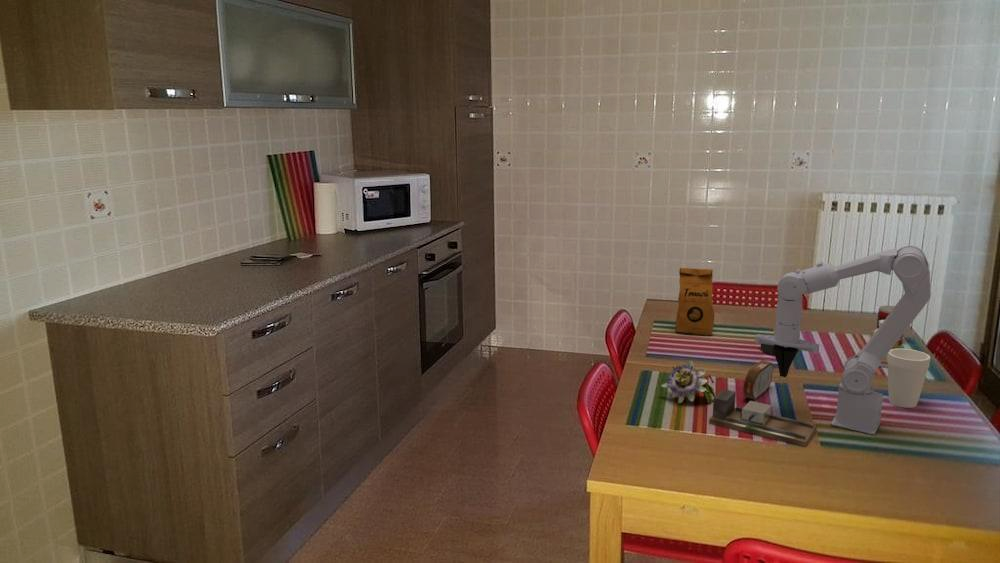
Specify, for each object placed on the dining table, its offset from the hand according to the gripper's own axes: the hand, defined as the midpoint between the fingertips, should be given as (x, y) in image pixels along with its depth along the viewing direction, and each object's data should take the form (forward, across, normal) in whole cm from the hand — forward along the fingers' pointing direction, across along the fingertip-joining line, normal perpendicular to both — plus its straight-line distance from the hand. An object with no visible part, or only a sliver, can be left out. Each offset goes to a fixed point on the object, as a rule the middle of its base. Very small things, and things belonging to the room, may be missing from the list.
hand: (783, 375), depth 181 cm
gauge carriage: (+8, +3, +13) cm, 16 cm away
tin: (+10, +8, -8) cm, 15 cm away
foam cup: (+10, -24, -23) cm, 35 cm away
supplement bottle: (+10, -15, -52) cm, 55 cm away
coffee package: (+10, +42, -51) cm, 67 cm away
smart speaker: (+10, +14, -46) cm, 49 cm away
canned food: (+10, -13, -76) cm, 78 cm away
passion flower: (+10, +22, +5) cm, 24 cm away
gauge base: (+9, +1, +12) cm, 15 cm away
